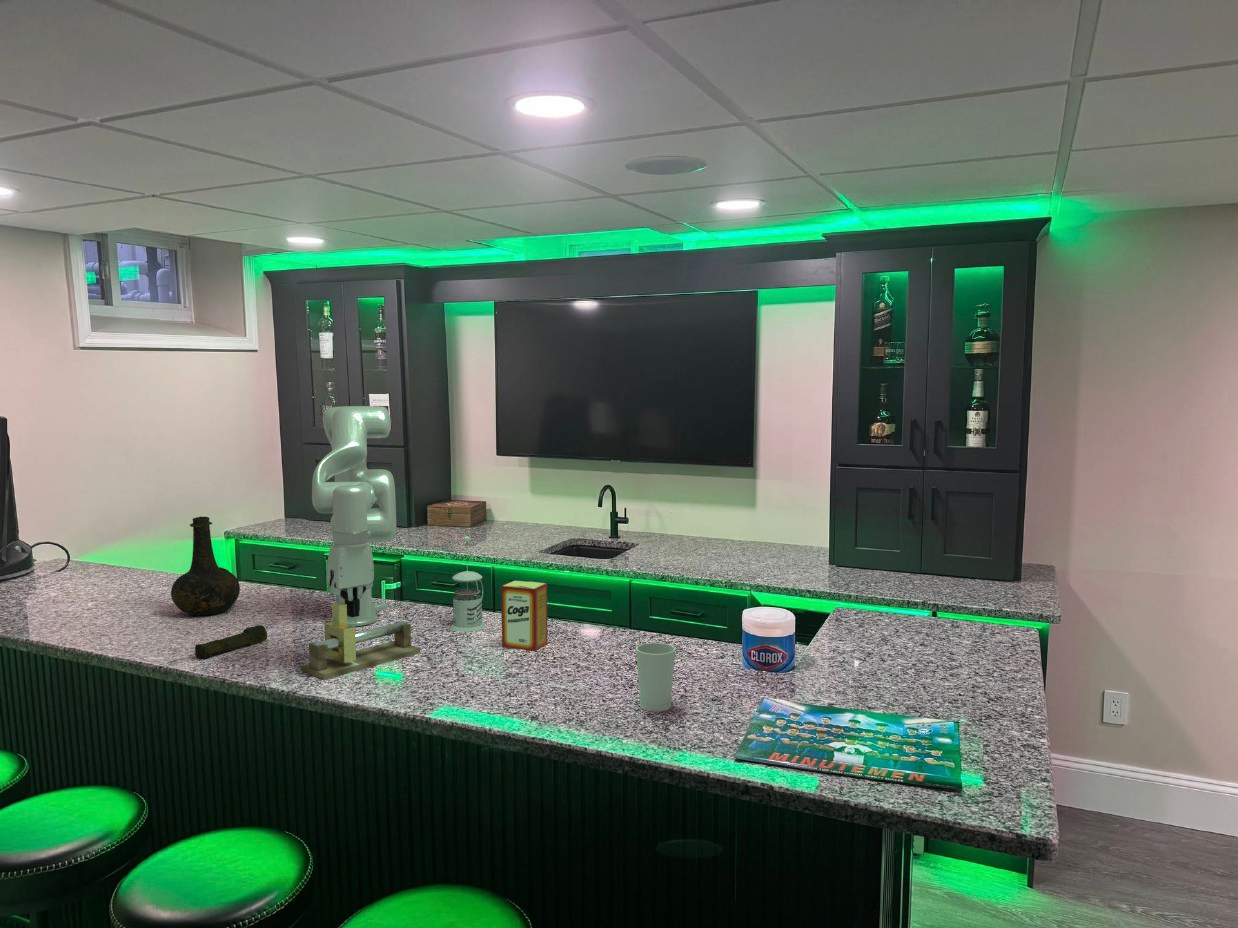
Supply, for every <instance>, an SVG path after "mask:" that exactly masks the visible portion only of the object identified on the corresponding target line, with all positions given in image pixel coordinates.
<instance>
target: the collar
mask: <svg viewBox="0 0 1238 928" xmlns="http://www.w3.org/2000/svg"><path fill="white" fill-rule="evenodd" d="M331 618H332V622H331V621H330V622H329V621H328V622H325V623H324V641H325V640H329V639H333V638H337V637H339V648H336V649H332V650H328V651H326V654H327V658H332V659H334V660H337V661H340V662H343V663H347V662H351V661H354V660H356V651H357V650H356V649H357V648H356V647H357V643H356V638H355V633H356V626H355V627H354V626H351V625H348V624H347V604H344V603H341V602H338V603H336V602H333V603H331Z"/></svg>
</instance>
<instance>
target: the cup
mask: <svg viewBox="0 0 1238 928" xmlns="http://www.w3.org/2000/svg"><path fill="white" fill-rule="evenodd" d="M635 652H636V664H637V677H638V678H637V679H638V690H639V707H640V708H641V710H644V711H647V712H653V713H655V712H657V713H660V712H665V711H668V710H670V709H671V708H672V694H673V693H672V692H673V691H672V689H673V679H674V667H675V657H676V656H675V655H676V647H675V646H673V645H671V644H668V643H663V642H648V643H647V642H645V643H643V644H642V643H641V644H639V645H636V647H635Z"/></svg>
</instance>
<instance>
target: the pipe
mask: <svg viewBox="0 0 1238 928" xmlns="http://www.w3.org/2000/svg"><path fill="white" fill-rule="evenodd" d="M398 622H399V623H396V622H394V623H395V624H394V623H392V624H391V623H390V624H387V625H384V626H383V625H382V626H379V627H374V628H371V629H366V630H363V631H359V632H355V638H356V644H359V643H363V642H366V641H367V642H369V641H370V640H371V641H372V640H376V639H378V638H383V637H387V636H391V635H394V634H395V633H399V632H401V631H402V626H401V625H403V624H406V623H407V622H406V621H402V622H400V621H398ZM315 642H316V643H314V644H315V645H322V644H325V645H326V651H328V650H332V649H336V648H339V637H337V638H333V639H329V640H325V639H324V640H321V641H315Z"/></svg>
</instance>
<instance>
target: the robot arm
mask: <svg viewBox="0 0 1238 928" xmlns="http://www.w3.org/2000/svg"><path fill="white" fill-rule="evenodd" d="M391 423H392V421H391V417H390V411H389V410H388V409H387V408H386V407H385V406H382V405H381V406H380V405H378V406H377V405H351V406H349V405H347V406H346V405H344V406H334V407H329V408H327V409H325V411H324V412H323V413H322V425H323V428H324V429H323V430H324V433H325V435H326V438H327V440H328V442H329V445H330V447H331V451H330V452H328V453H326V455H325V456H324V457H323V458H321V460H320V461H319V463H317V465H316V467H315V469H314V472H313V475H312V483H311V488H312V489H311V491H312V492H311V502H312V507H313V508H314V510H315V511H316V512H317V513H320V514H327V515H328V514H332V516H331V518H330V532H331V537H332V542H333V545H330V547H329V551H328V558H327V565H326V566H327V570H326V583H327V586H328V587H330V590H329V593H330V595H334V596H335V603H338V602H341V603H344V604H347V624H348V625H351V626H354V627H355V628H356V627H363V626H368V625H371V624H373V623H375V622H377V621H378V618H379V617H378V614H377V612H378V611H383V610H387V608H388V605H387V602H380V603H377V602H373V600H372V588H373V586H374V583H373V582H374V578H375V567H374V558H373V552H372V551H373V550H372V547H371V543H385V542H386V543H387V542H390V541H392V540H393V539H394V538H395V537H396V534H397V506H396V504H397V503H396V486H395V479H394V476H393V474H392V472H391V471H389V470H387V469H383V468H382V469H380V468H378V469H377V468H374V469H373V468H372V469H368V466H367V456H368V446H367V445H368V444H367V443H368V442H367V439H386V438H388V437H389V435H390V432H391V425H392V424H391ZM332 477H334V481H328V480H330V479H331V478H332ZM327 481H328V482H327ZM374 504H376V505H378V507H375V508H372V507H373V506H374ZM330 622H332V617H331V618H330Z"/></svg>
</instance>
